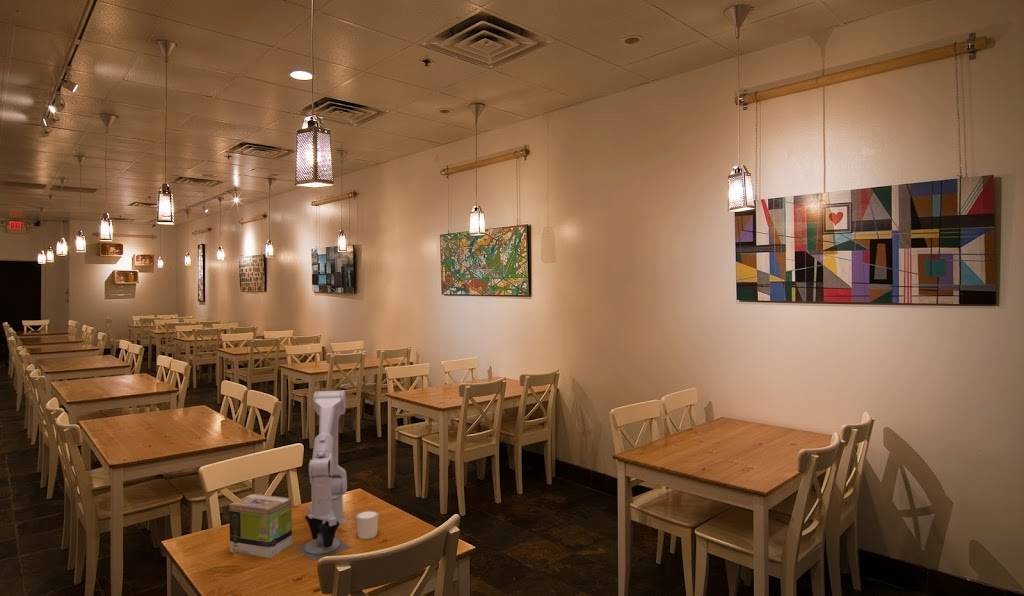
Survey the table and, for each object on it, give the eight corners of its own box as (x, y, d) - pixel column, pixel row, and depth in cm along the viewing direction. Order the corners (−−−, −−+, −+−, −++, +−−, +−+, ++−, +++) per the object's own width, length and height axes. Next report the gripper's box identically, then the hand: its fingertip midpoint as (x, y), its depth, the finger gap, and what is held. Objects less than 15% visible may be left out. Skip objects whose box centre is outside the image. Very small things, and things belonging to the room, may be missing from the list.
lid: (298, 547, 172) (298, 534, 172) (330, 536, 179) (329, 523, 179) (314, 558, 165) (313, 544, 165) (345, 546, 172) (345, 533, 172)
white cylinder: (373, 542, 176) (372, 519, 176) (352, 540, 178) (352, 518, 178) (382, 532, 183) (382, 511, 183) (362, 531, 185) (362, 509, 184)
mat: (294, 549, 172) (294, 547, 172) (331, 536, 181) (331, 534, 181) (312, 562, 164) (312, 560, 164) (350, 549, 172) (350, 547, 172)
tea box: (293, 545, 175) (292, 497, 174) (269, 560, 165) (268, 509, 165) (254, 538, 180) (253, 491, 179) (228, 553, 170) (227, 503, 170)
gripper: (298, 494, 174) (298, 538, 175) (320, 507, 164) (320, 554, 164) (320, 488, 179) (320, 531, 179) (342, 501, 169) (343, 546, 169)
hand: (322, 542), depth 172 cm, fingers open, 7 cm apart
